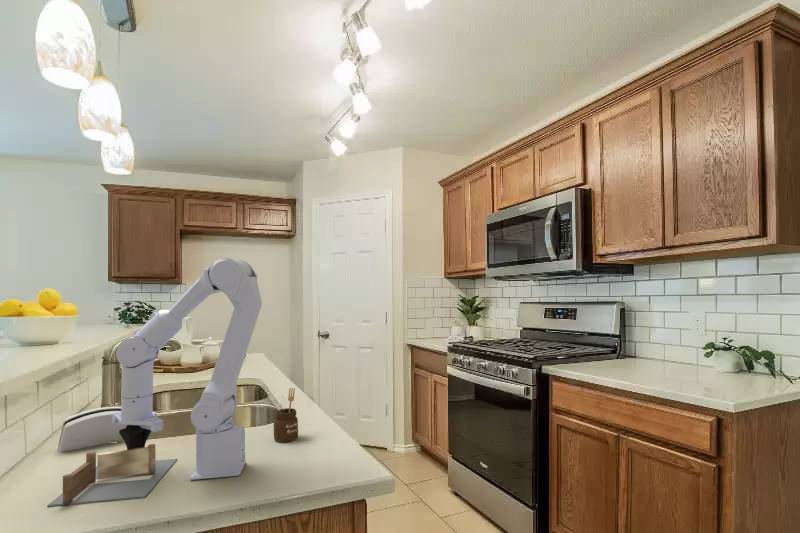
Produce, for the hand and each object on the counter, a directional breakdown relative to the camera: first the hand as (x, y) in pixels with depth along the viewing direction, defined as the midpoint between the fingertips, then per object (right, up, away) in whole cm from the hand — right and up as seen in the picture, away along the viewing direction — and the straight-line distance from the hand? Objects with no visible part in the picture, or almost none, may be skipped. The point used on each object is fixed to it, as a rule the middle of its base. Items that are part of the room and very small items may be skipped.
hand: (136, 461), depth 96 cm
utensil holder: (+26, -3, +20) cm, 33 cm away
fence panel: (0, -2, -2) cm, 3 cm away
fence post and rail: (-6, -2, -9) cm, 11 cm away
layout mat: (-1, -2, -3) cm, 4 cm away
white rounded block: (-21, -4, +21) cm, 30 cm away
